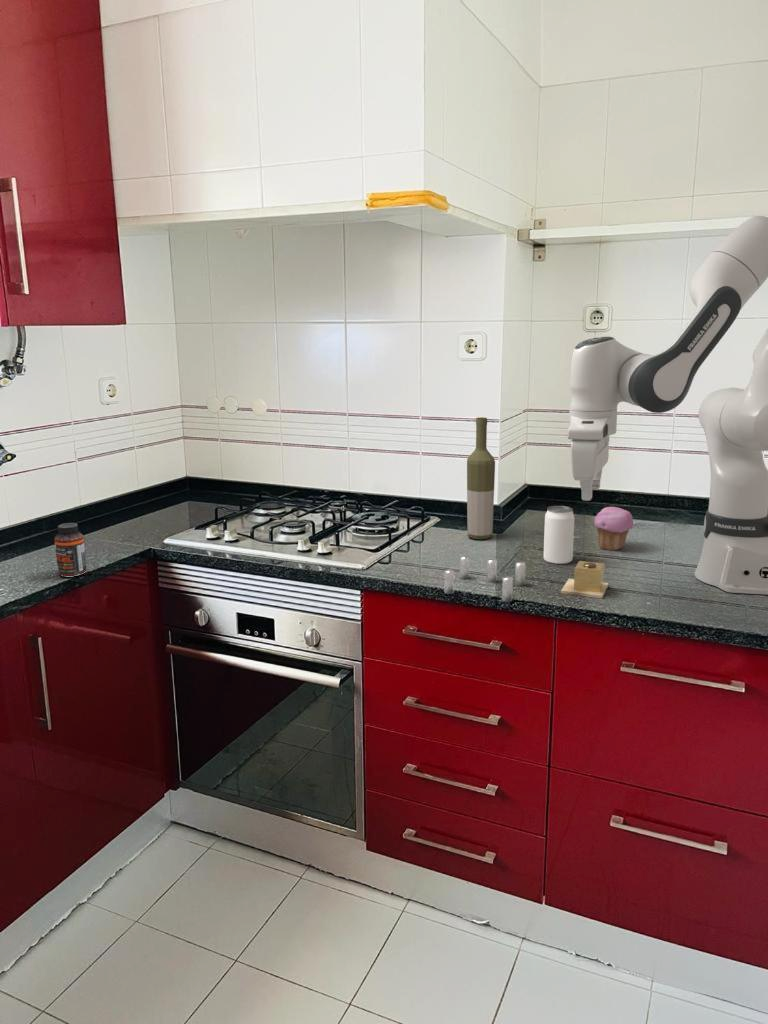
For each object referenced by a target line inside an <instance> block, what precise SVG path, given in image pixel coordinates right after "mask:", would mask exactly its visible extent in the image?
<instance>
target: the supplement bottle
mask: <svg viewBox="0 0 768 1024" xmlns="http://www.w3.org/2000/svg"><path fill="white" fill-rule="evenodd" d="M57 532H58V533H57V535H55V537H54V547H55V548H54V549H55V558H56V565H57V566H56V567H57V573H58V576H59V575H63V576H74V575H78V574H82V573H84V572H85V571H86V570H87V559H86V550H85V548H86V547H85V540H84V535H83V534H82V532H80V530H79V528H78V524H77V523H75V522H67V523H66V522H65V523H61V524H59V525H58V526H57Z"/></svg>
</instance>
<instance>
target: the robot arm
mask: <svg viewBox="0 0 768 1024" xmlns="http://www.w3.org/2000/svg"><path fill="white" fill-rule="evenodd" d="M767 279H768V216H765V215H757V216H752V217H750V218H747V219H746V220H745V221H743V222H742V223H741V224H739V226H737V227H736V228H735V229H734V230H732V231H731V232H730V233H729V234H728V235H727V236H725V238H724V239H722V241H720V243H719V244H718V245H716V246H715V248H714V249H713V250H712V251H711V252H710V254H708V255H707V256H706V258H705V259H704V260H703V261H702V263H701V264H700V265H699V266H698V268H697V269H696V271H695V273H694V274H693V276H692V278H691V279H690V281H689V295H690V298H691V301H692V303H693V304H694V305H695V308H696V309H695V312H694V314H693V316H692V317H691V319H689V322H688V323H687V324H686V325H685V326H684V328H683V329H682V330H681V332H680V333H679V334H678V335H677V337H676V338H675V339H674V341H672V343H671V345H669V347H667V348H666V349H665V350H663V351H661V352H660V353H656V354H650V353H649V354H648V353H643V352H640V351H637V350H635V349H633V348H630V347H628V346H625V345H624V344H622V343H620V341H617V339H615V337H613V336H601V337H594V338H589V339H585V340H583V341H581V342H579V343H578V344H577V345H575V347H574V349H573V352H572V357H571V363H570V373H569V388H570V391H571V401H570V403H569V409H568V410H569V411H568V412H569V416H568V417H569V418H568V419H569V421H568V429H567V439H568V440H571V441H570V458H571V473H572V476H573V477H572V478H573V480H574V481H578V482H579V485H580V490H581V500H582V501H587V502H588V501H592V499H593V491H598V490H599V489H600V488H601V478H602V474H603V468H604V467H605V466H606V465H607V463H608V461H609V454H610V452H609V451H610V450H609V449H610V448H609V447H610V444H609V442H610V436H613V435H615V434H617V422H618V405H619V404H620V403H622V402H624V403H628V404H630V405H632V406H633V405H634V406H636V407H640V408H641V409H644V410H646V411H648V412H650V413H654V414H657V413H658V414H661V413H666V412H669V411H671V410H674V409H676V408H677V407H678V406H679V405H680V404H681V403H682V402H684V400H685V399H686V397H687V395H688V393H689V392H690V388H691V386H692V383H693V381H694V378H695V376H696V374H697V372H698V370H699V369H700V368H701V366H702V365H703V363H704V362H705V360H706V359H707V358H708V356H709V355H710V354H711V353H712V352H713V350H714V349H715V348H716V346H717V345H718V344H719V342H720V341H721V340H722V338H724V336H725V334H726V333H727V332H728V331H729V329H730V328H731V326H732V325H733V323H734V322H735V320H736V319H737V317H738V316H739V314H740V311H741V310H742V309H743V307H744V306H745V304H747V302H748V301H749V300H750V299H751V298H752V297H753V295H755V293H756V292H757V291H758V290H759V289H760V287H761V286H762V285H763V284H764V283H765V282H766V280H767ZM752 361H753V370H752V372H751V376H750V379H749V381H748V384H747V385H746V387H745V389H744V388H740V387H739V388H738V387H727V388H721V389H717V390H715V391H713V392H710V393H709V394H708V395H707V396H705V398H704V399H702V401H701V403H700V405H699V408H698V420H699V421H698V422H699V424H700V426H701V427H702V429H703V432H704V435H705V441H706V446H707V452H708V458H709V465H710V486H709V487H710V488H709V500H708V509H706V512H705V515H704V521H703V523H704V524H703V537H704V540H703V546H702V549H701V550H702V551H701V553H700V557H699V561H698V564H697V567H696V569H695V571H694V573H693V574H694V575H693V576H694V577H695V578H696V579H697V580H699V581H701V582H703V583H704V584H708V585H710V586H711V585H712V586H713V587H714V586H715V587H717V588H719V589H721V590H722V591H725V592H727V593H731V594H732V593H734V594H750V595H751V594H753V595H768V468H767V467H766V464H765V460H764V456H763V452H768V328H767V329H766V331H765V332H764V334H763V336H762V337H761V339H760V341H759V342H758V344H757V345H756V347H755V349H754V350H753V353H752Z"/></svg>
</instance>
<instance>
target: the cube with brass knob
mask: <svg viewBox="0 0 768 1024" xmlns="http://www.w3.org/2000/svg"><path fill="white" fill-rule="evenodd" d="M573 577H574V578H573V579H574V590H583V591H591V592H600V590H601V588H602V586H603V582H604V579H605V578H604V577H605V563H603V562H602V563H601V562H595V561H594V562H593V561H592V562H591V561H586V560H585V561H584V560H579V561H578V562H577V564H576V565H575V567H574V576H573Z"/></svg>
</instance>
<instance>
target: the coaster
mask: <svg viewBox="0 0 768 1024" xmlns="http://www.w3.org/2000/svg"><path fill="white" fill-rule="evenodd" d="M608 587H609V582H604V581H603V586H602V588H601V590H600V592H591V591H583V590H574V578H570V577H569V578H568V579H567V581H566V582H565V584H564V586H563V587H562V589H561V591H560V594H562V595H572V596H579V597H587V598H595V599H603V597H604V595H605V593H606V592H607V589H608Z"/></svg>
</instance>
